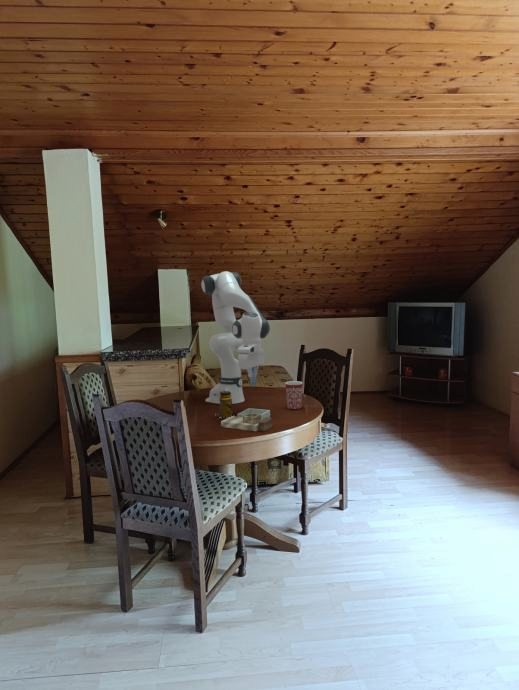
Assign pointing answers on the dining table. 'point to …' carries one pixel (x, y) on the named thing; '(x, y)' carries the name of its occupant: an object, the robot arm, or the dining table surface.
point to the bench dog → (265, 424)
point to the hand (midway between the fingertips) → (252, 376)
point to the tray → (255, 412)
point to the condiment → (225, 404)
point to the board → (243, 422)
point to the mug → (294, 394)
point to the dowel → (253, 379)
